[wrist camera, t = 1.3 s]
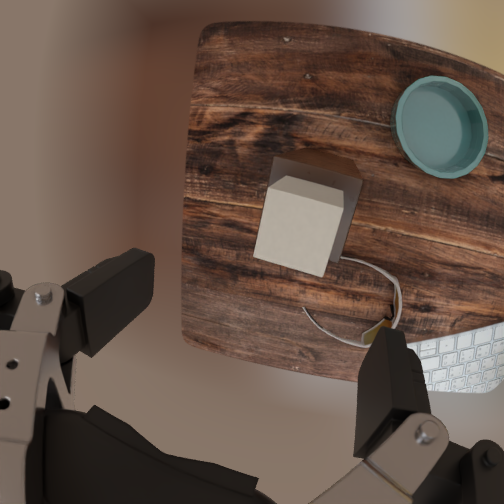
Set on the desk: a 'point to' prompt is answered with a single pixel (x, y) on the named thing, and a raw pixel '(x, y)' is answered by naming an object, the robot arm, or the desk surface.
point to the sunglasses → (387, 322)
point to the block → (299, 224)
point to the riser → (323, 183)
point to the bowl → (439, 127)
